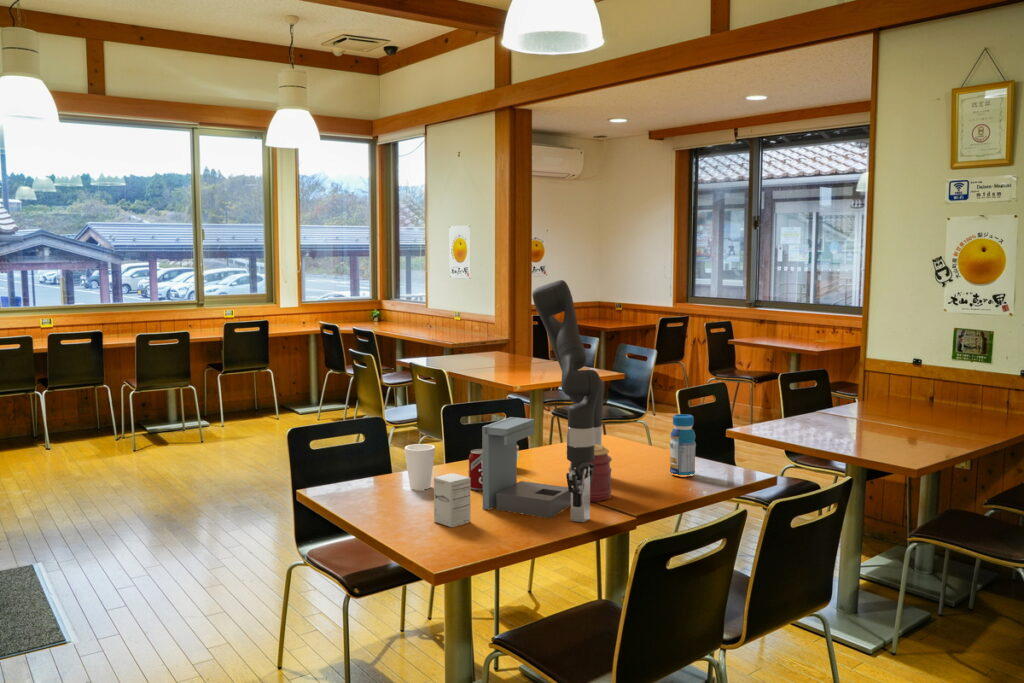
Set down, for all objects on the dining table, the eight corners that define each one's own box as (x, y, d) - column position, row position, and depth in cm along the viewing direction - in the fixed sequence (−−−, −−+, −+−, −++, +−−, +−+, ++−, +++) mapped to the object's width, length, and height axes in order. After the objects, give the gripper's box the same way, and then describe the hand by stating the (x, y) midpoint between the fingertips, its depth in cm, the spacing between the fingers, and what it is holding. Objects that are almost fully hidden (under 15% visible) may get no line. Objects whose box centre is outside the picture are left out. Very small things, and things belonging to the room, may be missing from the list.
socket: (521, 497, 253) (521, 480, 252) (572, 504, 245) (572, 487, 244) (496, 509, 240) (496, 492, 239) (549, 518, 231) (549, 500, 231)
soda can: (464, 489, 261) (464, 452, 260) (475, 484, 267) (475, 447, 266) (483, 492, 258) (483, 454, 257) (494, 487, 264) (494, 449, 263)
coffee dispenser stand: (511, 494, 255) (510, 416, 253) (534, 498, 252) (534, 419, 249) (482, 508, 241) (482, 426, 238) (507, 512, 237) (506, 429, 235)
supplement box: (433, 522, 228) (432, 476, 227) (454, 516, 234) (453, 472, 232) (450, 528, 223) (450, 481, 222) (471, 522, 228) (471, 476, 227)
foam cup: (433, 491, 259) (433, 450, 258) (403, 492, 259) (403, 450, 258) (436, 483, 268) (435, 443, 267) (407, 483, 268) (406, 443, 267)
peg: (576, 516, 233) (576, 474, 231) (589, 518, 231) (590, 475, 230) (570, 520, 229) (570, 477, 228) (584, 522, 227) (584, 479, 226)
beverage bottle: (690, 479, 273) (691, 418, 271) (665, 476, 277) (666, 416, 275) (698, 474, 280) (699, 414, 278) (674, 470, 284) (675, 412, 282)
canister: (618, 494, 255) (618, 437, 254) (600, 504, 244) (600, 445, 243) (579, 488, 262) (580, 433, 260) (560, 498, 251) (561, 440, 249)
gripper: (578, 436, 236) (578, 496, 237) (556, 446, 223) (556, 509, 225) (603, 439, 232) (603, 499, 234) (582, 449, 220) (582, 513, 221)
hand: (580, 504), depth 229 cm, fingers closed on peg, 4 cm apart
